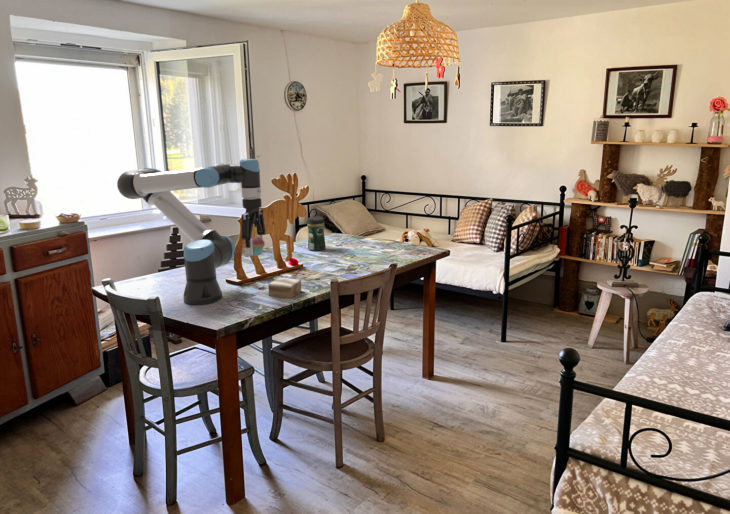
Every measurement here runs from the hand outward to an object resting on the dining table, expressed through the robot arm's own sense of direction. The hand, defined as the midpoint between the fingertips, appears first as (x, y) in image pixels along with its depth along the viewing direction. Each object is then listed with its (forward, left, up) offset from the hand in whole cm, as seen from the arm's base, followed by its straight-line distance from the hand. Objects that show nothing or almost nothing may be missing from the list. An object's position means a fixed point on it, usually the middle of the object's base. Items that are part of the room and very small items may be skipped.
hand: (255, 252), depth 225 cm
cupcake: (0, 0, -1) cm, 1 cm away
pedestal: (+2, -12, -17) cm, 21 cm away
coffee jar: (+80, +6, -18) cm, 82 cm away
